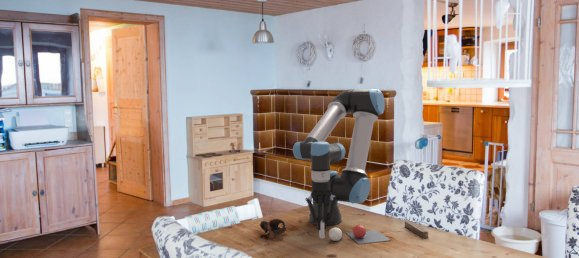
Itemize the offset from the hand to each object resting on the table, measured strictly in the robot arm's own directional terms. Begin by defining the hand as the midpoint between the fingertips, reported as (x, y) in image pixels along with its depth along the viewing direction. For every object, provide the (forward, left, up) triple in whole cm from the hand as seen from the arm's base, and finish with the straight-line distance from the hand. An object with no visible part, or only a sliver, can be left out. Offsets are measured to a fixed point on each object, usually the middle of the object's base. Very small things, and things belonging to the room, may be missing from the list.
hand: (321, 237), depth 194 cm
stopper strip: (+21, +36, -2) cm, 42 cm away
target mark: (+10, +17, -2) cm, 20 cm away
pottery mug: (-21, -8, -2) cm, 22 cm away
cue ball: (+3, +5, +1) cm, 6 cm away
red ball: (+8, +14, +1) cm, 16 cm away
